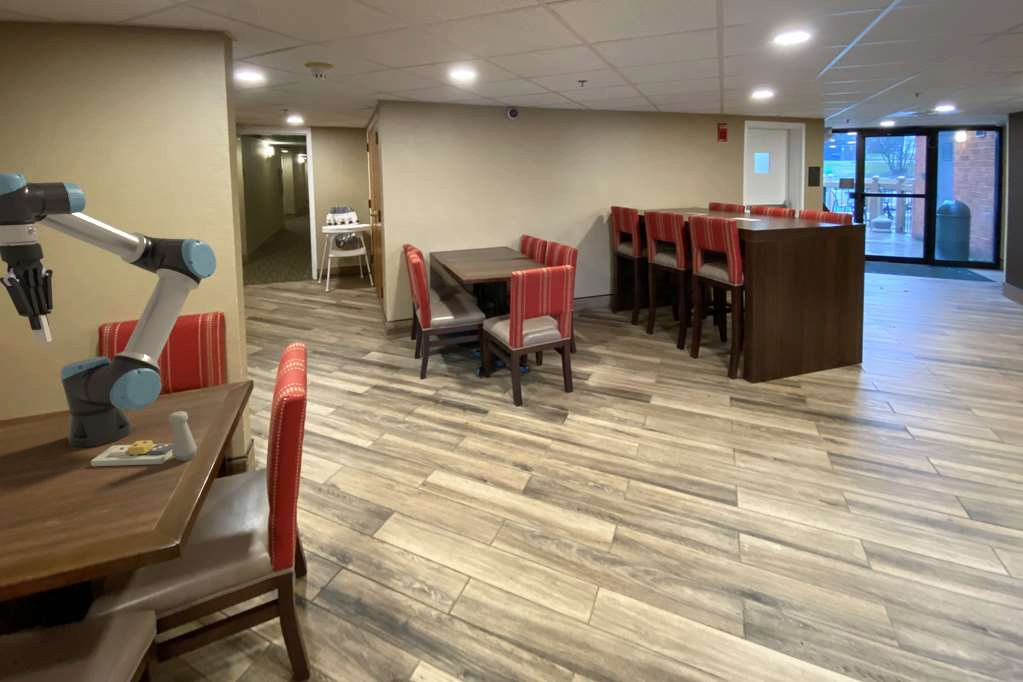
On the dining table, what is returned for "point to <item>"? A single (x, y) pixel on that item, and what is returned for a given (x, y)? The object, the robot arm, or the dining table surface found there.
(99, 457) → the tile board
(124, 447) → the tile
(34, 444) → the dining table surface
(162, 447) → the tile
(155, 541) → the dining table surface
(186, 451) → the salt shaker
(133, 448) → the tile
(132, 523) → the dining table surface
